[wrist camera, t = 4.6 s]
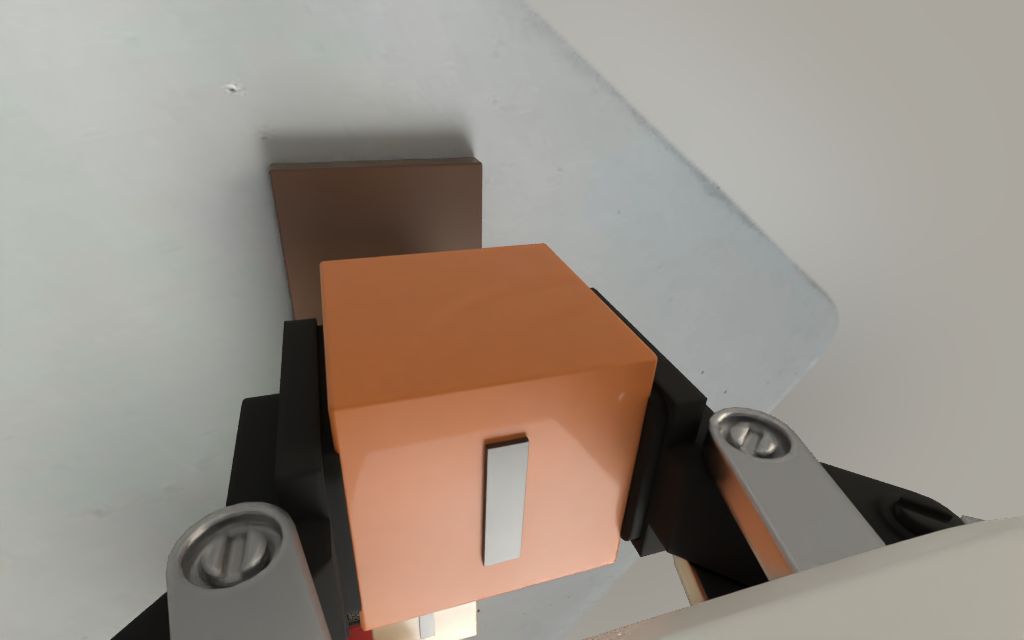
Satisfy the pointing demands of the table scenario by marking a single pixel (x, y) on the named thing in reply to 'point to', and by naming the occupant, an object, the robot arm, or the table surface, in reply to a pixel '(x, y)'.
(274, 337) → the table surface
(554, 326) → the orange slotted cube
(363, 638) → the beer can
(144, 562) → the table surface
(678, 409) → the robot arm
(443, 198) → the slotted cubes on board
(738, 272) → the table surface
